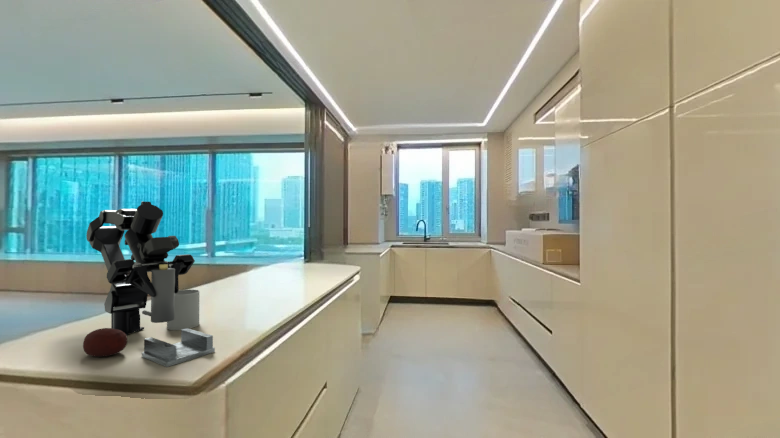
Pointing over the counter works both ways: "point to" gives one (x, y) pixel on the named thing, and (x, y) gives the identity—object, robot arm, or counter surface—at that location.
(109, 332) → the potato
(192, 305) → the cup
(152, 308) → the plug
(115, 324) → the robot arm
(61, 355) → the counter surface
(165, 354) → the housing
